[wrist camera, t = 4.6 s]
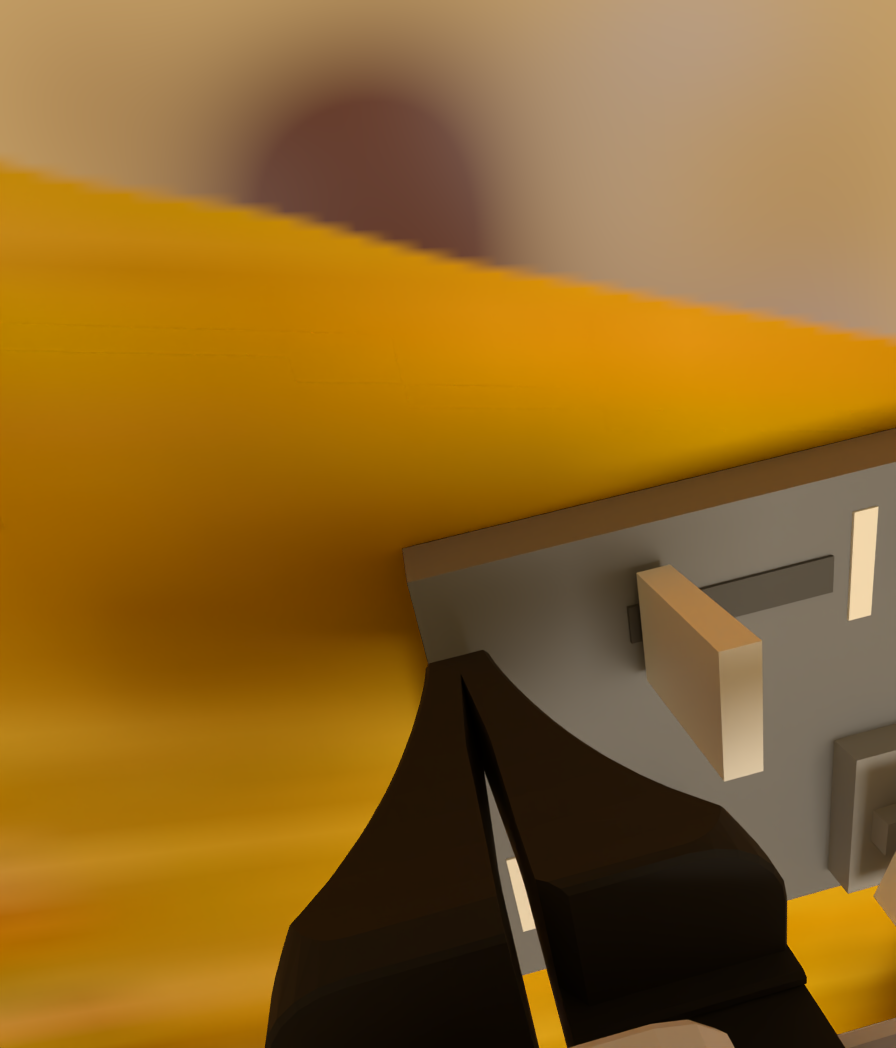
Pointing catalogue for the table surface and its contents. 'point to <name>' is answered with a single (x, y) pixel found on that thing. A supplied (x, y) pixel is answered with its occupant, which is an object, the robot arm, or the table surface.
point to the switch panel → (745, 593)
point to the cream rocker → (888, 891)
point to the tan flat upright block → (704, 670)
